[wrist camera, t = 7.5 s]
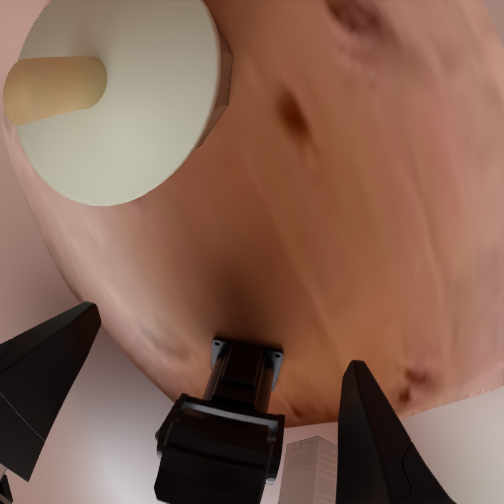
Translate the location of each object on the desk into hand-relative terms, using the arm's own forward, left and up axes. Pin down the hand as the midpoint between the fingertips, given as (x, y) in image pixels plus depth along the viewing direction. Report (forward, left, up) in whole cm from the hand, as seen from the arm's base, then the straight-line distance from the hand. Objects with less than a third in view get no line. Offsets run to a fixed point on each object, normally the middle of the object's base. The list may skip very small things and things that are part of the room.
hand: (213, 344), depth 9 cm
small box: (-34, -12, -12) cm, 38 cm away
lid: (+8, +9, -8) cm, 15 cm away
